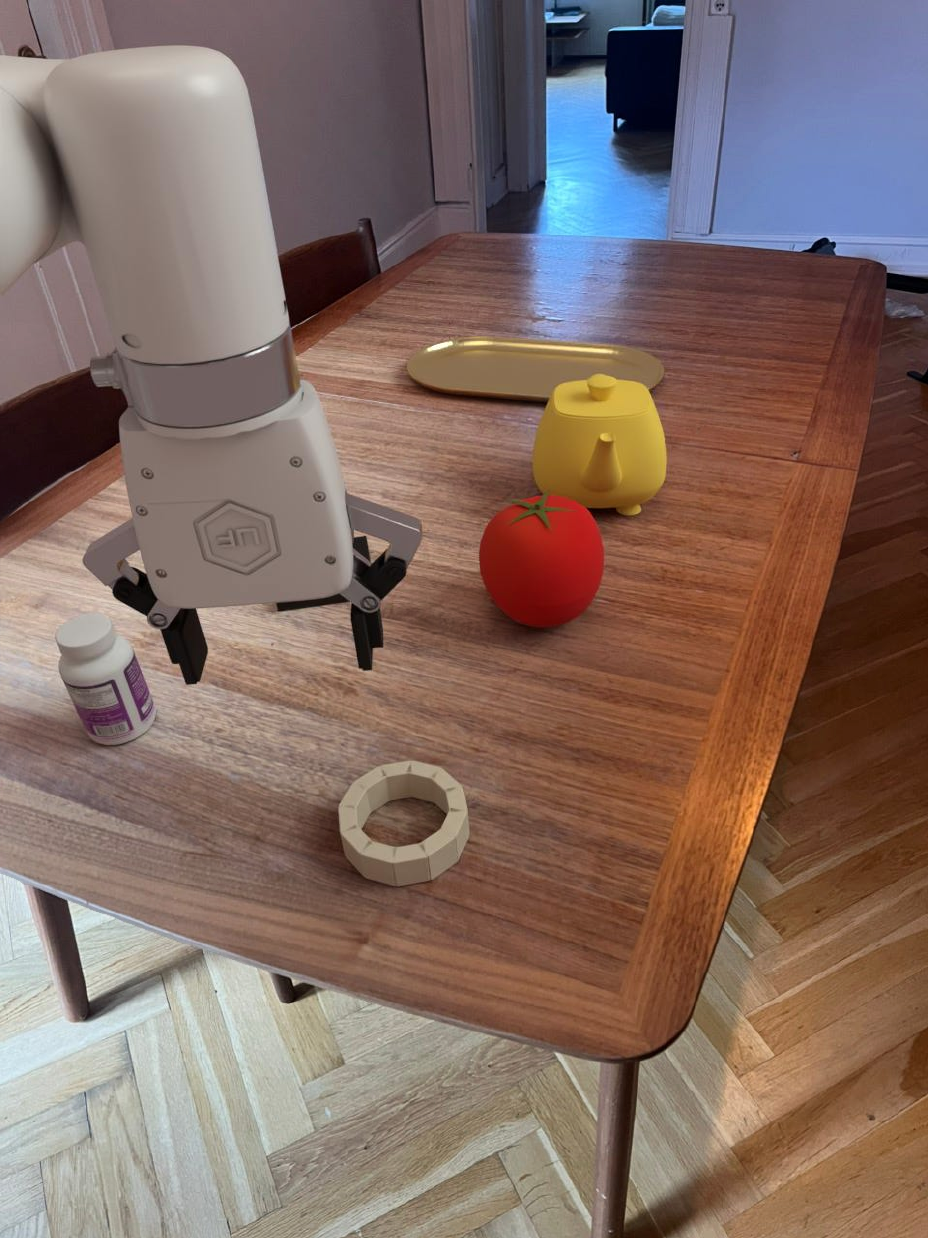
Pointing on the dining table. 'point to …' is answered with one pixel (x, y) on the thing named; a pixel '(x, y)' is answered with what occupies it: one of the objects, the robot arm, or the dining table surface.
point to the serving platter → (525, 366)
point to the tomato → (542, 560)
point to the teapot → (601, 444)
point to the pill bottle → (104, 680)
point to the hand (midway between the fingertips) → (282, 661)
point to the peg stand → (362, 548)
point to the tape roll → (412, 859)
